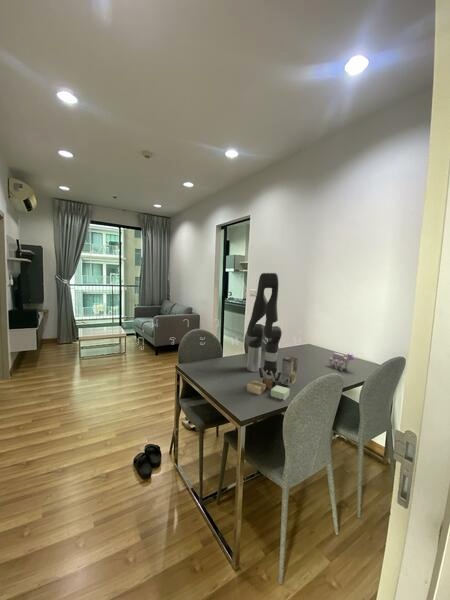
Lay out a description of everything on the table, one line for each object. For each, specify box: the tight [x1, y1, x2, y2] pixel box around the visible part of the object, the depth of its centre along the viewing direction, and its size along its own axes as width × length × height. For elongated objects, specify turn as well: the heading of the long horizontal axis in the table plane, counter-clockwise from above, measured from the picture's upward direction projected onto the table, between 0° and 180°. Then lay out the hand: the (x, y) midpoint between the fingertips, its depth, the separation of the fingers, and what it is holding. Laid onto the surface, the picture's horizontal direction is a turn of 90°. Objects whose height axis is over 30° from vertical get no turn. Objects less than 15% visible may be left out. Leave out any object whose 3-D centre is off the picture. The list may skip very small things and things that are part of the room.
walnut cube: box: [264, 376, 274, 390], centre depth 160 cm, size 5×5×5 cm
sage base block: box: [270, 384, 291, 401], centre depth 149 cm, size 8×8×4 cm
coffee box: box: [280, 355, 298, 387], centre depth 167 cm, size 9×6×16 cm
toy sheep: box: [328, 352, 357, 372], centre depth 198 cm, size 20×11×14 cm, turn 34°
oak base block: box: [246, 380, 267, 396], centre depth 154 cm, size 8×8×4 cm
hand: (268, 385), depth 160 cm, fingers closed on walnut cube, 5 cm apart
